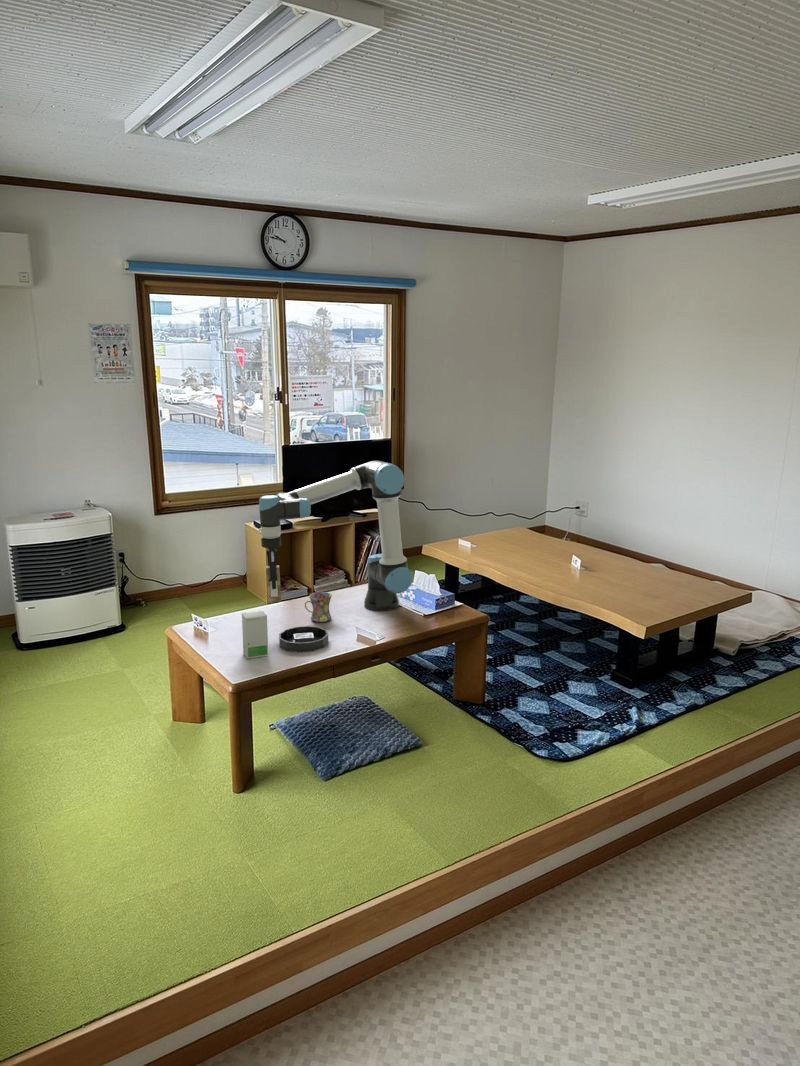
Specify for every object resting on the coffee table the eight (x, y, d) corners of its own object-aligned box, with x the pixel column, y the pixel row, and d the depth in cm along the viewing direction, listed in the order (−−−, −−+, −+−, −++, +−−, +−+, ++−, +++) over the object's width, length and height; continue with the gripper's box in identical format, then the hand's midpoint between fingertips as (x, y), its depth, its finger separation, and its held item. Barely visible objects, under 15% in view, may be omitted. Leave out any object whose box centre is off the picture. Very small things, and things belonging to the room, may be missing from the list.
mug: (325, 614, 317) (324, 590, 314) (336, 620, 309) (335, 596, 307) (300, 620, 310) (299, 595, 308) (310, 626, 303) (310, 601, 300)
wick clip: (313, 638, 288) (312, 632, 287) (314, 643, 283) (314, 637, 282) (293, 640, 286) (293, 634, 286) (294, 645, 281) (293, 638, 281)
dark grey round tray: (325, 633, 295) (324, 624, 294) (330, 649, 278) (330, 640, 277) (278, 636, 292) (278, 628, 291) (280, 654, 274) (280, 645, 273)
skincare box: (246, 659, 269) (244, 618, 266) (242, 653, 275) (240, 612, 272) (269, 655, 273) (267, 615, 269) (265, 649, 279) (263, 609, 275)
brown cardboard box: (280, 599, 294) (278, 565, 291) (281, 602, 291) (279, 567, 288) (267, 600, 293) (265, 566, 290) (268, 603, 290) (266, 568, 287)
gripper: (260, 532, 293) (263, 589, 298) (261, 541, 277) (265, 602, 283) (279, 531, 294) (282, 588, 300) (282, 540, 279) (285, 600, 284)
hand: (274, 594), depth 291 cm, fingers closed on brown cardboard box, 3 cm apart
